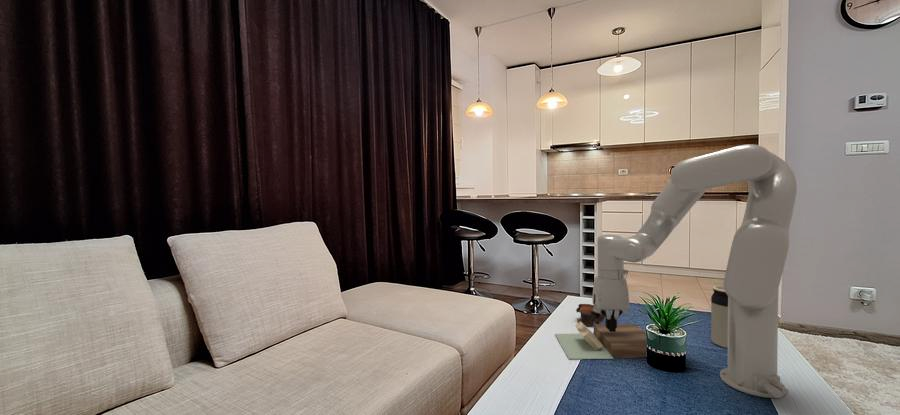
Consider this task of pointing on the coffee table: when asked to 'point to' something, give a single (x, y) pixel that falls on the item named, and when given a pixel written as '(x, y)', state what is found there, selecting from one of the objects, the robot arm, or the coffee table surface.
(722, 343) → the beige canister
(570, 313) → the coffee table surface
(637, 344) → the walnut board
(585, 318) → the pottery mug
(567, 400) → the coffee table surface
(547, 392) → the coffee table surface
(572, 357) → the rubber mat
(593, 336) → the maple tile
